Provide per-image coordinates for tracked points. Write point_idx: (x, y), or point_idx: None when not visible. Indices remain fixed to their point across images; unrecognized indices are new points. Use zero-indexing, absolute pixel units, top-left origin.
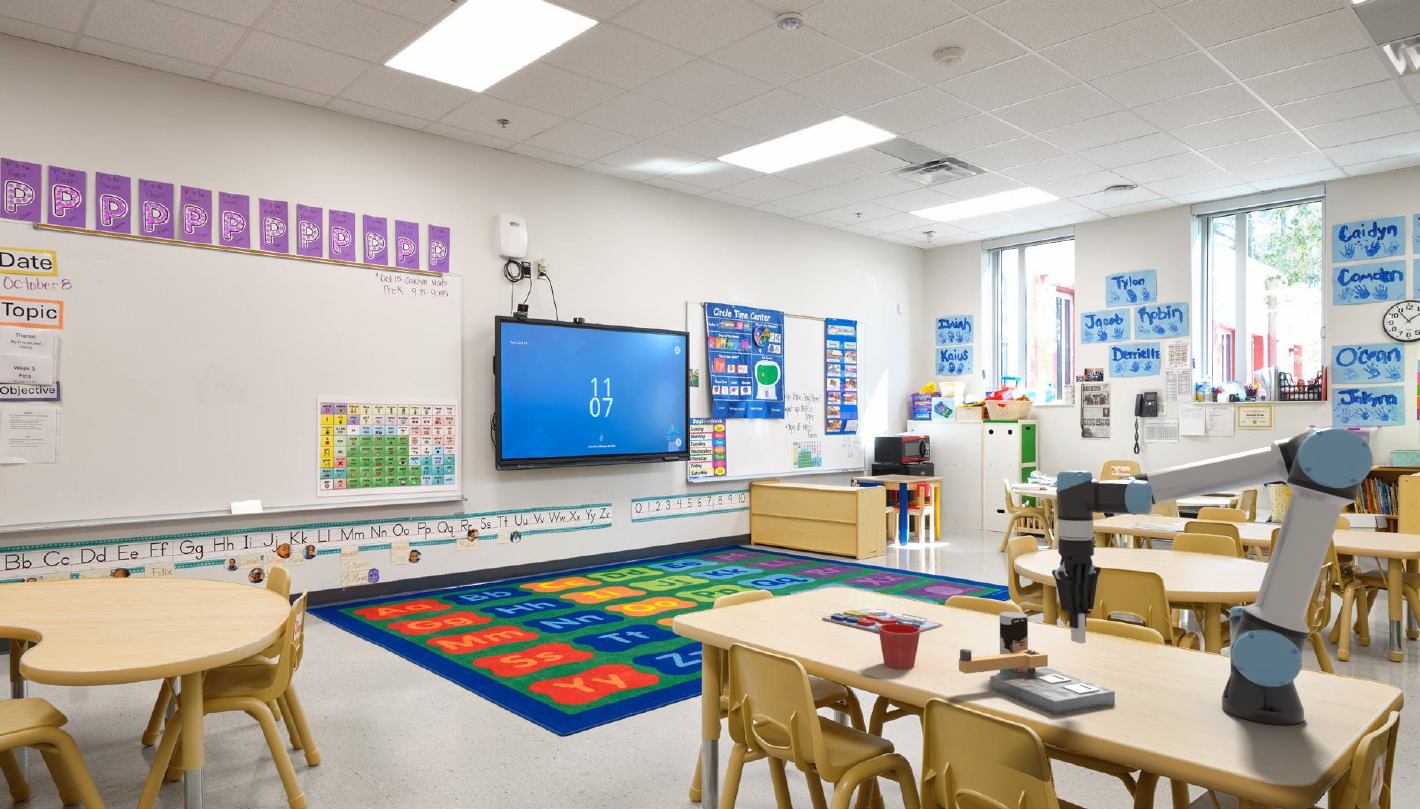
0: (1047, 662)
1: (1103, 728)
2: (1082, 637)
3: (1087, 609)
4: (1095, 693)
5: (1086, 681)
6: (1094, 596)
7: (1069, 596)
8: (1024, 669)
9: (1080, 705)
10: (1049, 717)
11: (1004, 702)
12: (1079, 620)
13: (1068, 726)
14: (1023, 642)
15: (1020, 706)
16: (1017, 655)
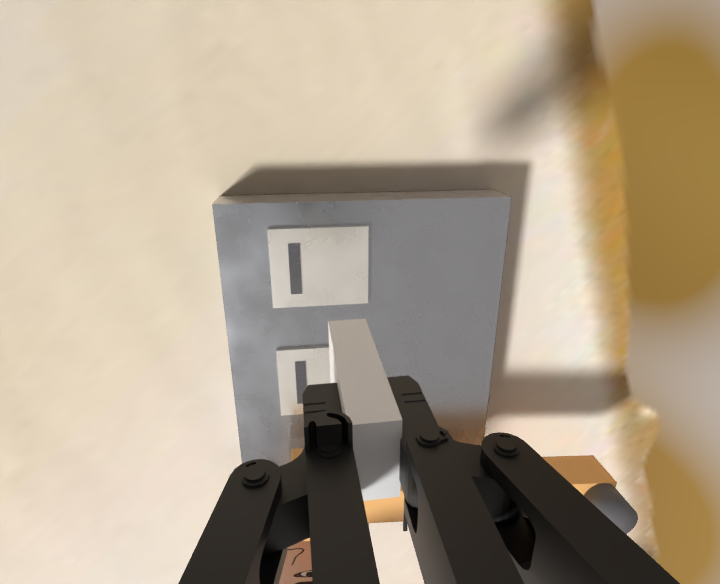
0: (291, 458)
1: (457, 22)
2: (354, 334)
3: (310, 456)
4: (306, 211)
5: (227, 328)
6: (190, 572)
7: (599, 549)
8: None
9: (386, 195)
10: (522, 181)
11: (527, 331)
12: (393, 395)
13: (541, 91)
14: (303, 582)
15: (516, 289)
16: (403, 497)
